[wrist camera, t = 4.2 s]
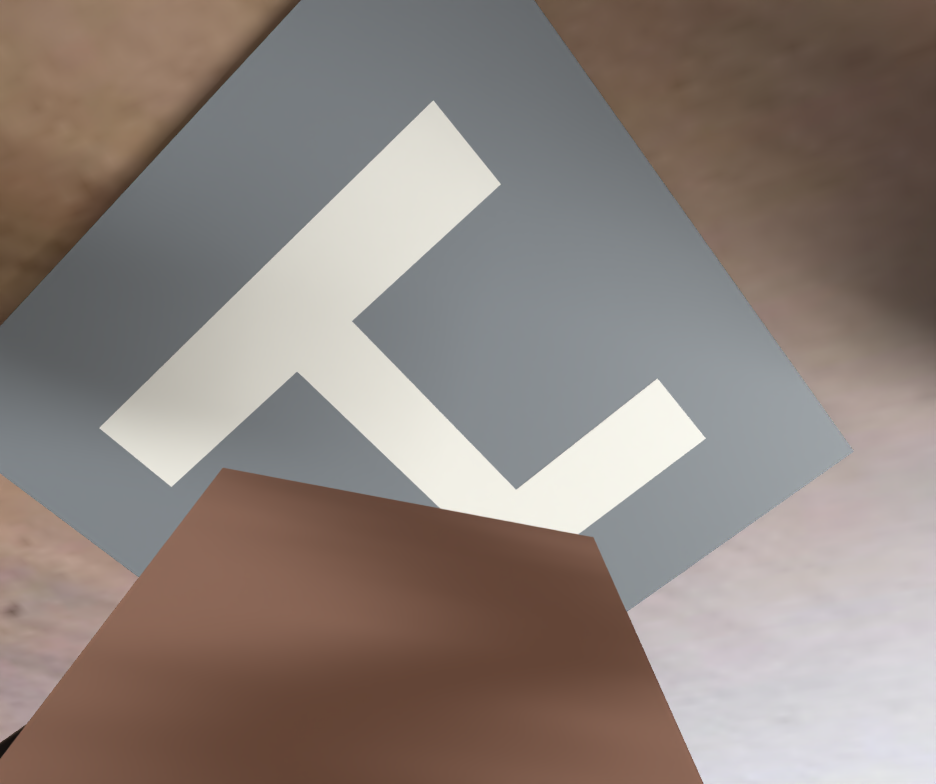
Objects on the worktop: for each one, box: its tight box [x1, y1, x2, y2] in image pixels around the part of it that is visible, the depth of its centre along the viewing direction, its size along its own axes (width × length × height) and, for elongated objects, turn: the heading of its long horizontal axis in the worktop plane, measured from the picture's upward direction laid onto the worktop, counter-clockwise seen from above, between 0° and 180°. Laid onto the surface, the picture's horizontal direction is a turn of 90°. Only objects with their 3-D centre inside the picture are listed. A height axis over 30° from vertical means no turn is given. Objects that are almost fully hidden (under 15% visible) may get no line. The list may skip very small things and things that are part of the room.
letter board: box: [0, 0, 854, 611], centre depth 16 cm, size 18×18×1 cm
